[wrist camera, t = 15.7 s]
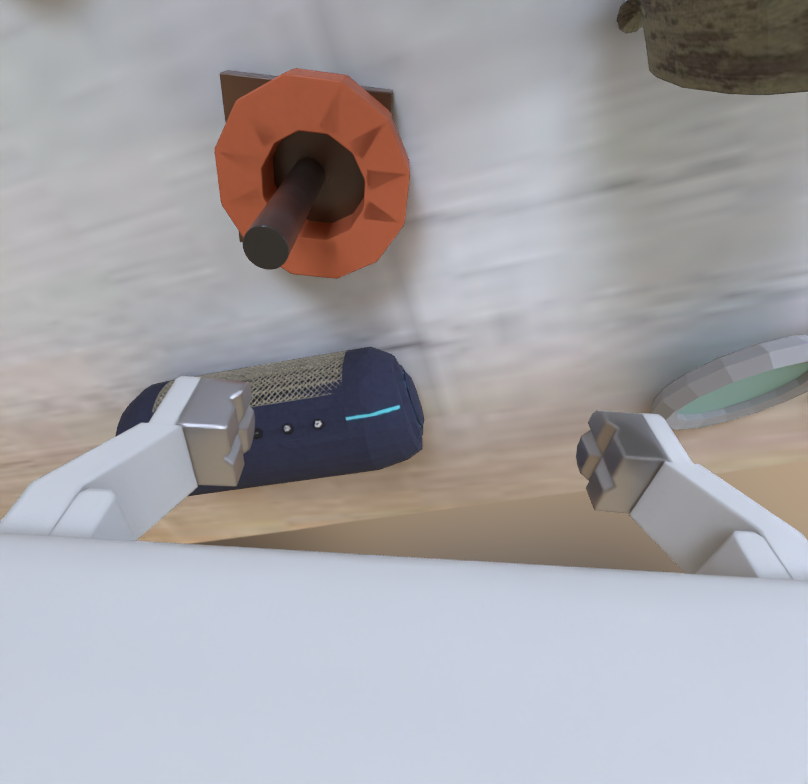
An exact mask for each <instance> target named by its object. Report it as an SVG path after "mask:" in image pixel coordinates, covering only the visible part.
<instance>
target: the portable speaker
mask: <svg viewBox="0 0 808 784" xmlns="http://www.w3.org/2000/svg"><path fill="white" fill-rule="evenodd" d="M323 361H324V362H323ZM298 366H299V367H298ZM310 366H311V367H310ZM304 367H305V368H304ZM291 368H292V369H291ZM277 369H278V370H277ZM285 369H286V370H285ZM297 369H298V370H297ZM271 370H272V371H271ZM269 371H270V372H269ZM271 372H272V373H271ZM256 374H257V375H256ZM237 376H238V377H237ZM194 377H201V378H214V379H224V380H234V381H243V382H248V383H249V384H250V387H251V393H252V397H251V400H250V403H249V406H250V407H251V408H252V409H253V410H254V415H255V430H254V437H253V441H252V444H251V447H250V450H248V451H247V452H246V453H244V454H243V456H244V463H245V464H244V467H243V470H242V473H241V475H240V478H239V481H238V484H237V486H215V485H198V487H197V488H196V489H195V490H194V491H193V492H191V493H190V494H189V495H188V496H192V495H200V494H207V493H214V492H221V491H229V490H236V489H243V488H250V487H258V486H265V485H272V484H279V483H287V482H294V481H301V480H308V479H316V478H323V477H330V476H337V475H345V474H352V473H359V472H366V471H374V470H380V469H383V468H385V467H388V466H391V465H394V464H396V463H399V462H402V461H405V460H407V459H409V458H411V457H412V456H413V455H415V454H416V453H418V452H419V451H420V450H422V435H423V423H424V416H423V411H422V407H421V404H420V400H419V397H418V394H417V391H416V388H415V385H414V383H413V381H412V378H411V377H410V376H409V375H408V374H407V373H406V372H405V370H404V369H403V367H402V366H401V365H399V364H398V362H397V360H396V358H395V356H393V355H392V354H389V353H387V352H384V351H381V350H378V349H375V348H372V347H367V348H360V349H353V350H347V351H341V352H335V353H329V354H323V355H318V356H312V357H306V358H299V359H293V360H288V361H282V362H276V363H270V364H265V365H259V366H253V367H247V368H241V369H235V370H229V371H223V372H218V373H212V374H206V375H200V376H194ZM174 381H175V380H172V381H167V382H162V383H157V384H153V385H151V386H149V387H148V388H146V389H145V390H144V391H143V392H142V393H141V394H140V395H139V396H137V397H136V398H135V399H134V400H133V401H132V402H131V403H130V404H129V406H128V407H127V408H126V410H125V411H124V412H123V414H122V416H121V419H120V421H119V424H118V427H117V431H116V436H118V435H120V434H121V433H123V432H125V431H127V430H129V429H131V428H132V427H134V426H136V425H138V424H140V423H149V421H150V420H151V418H152V416H153V415H154V413H155V412H156V410H157V408H158V407H159V405H160V404H161V402H162V400H163V399H164V397H165V396H166V394H167V393H168V391H169V389H170V388H171V386H172V385H173V383H174ZM116 436H115V437H116Z"/></svg>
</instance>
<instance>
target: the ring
mask: <svg viewBox="0 0 808 784" xmlns="http://www.w3.org/2000/svg"><path fill="white" fill-rule="evenodd" d="M297 131H306V132H314V133H322V134H328V135H330V136H331V137H332V138H333V139H335V140H336V141H337V142H339V143H340V144H341V145H342V146H344V147H345V148H346V149H348V150H349V151H350V152H352V153H353V156H354V158H355V160H356V162H357V164H358V166H359V169H360V171H361V173H362V175H363V177H364V180H365V189H364V198H363V199H362V201H361V202H360V204H359V205H358V207H357V209H356V210H355V212H354V213H353V214H351V215H349V216H347V217H345V218H342V219H340V220H338V221H336V222H334V223H326V222H317V221H309V220H307V219H306V220H305V222H304V224H303V227H302V229H301V231H300V233H299V235H298V237H297V239H296V241H295V244H294V246H293V248H292V250H291V252H290V254H289V256H288V258H287V261H286V262H285V263H284V264H283V265H282V266H281V268H283V269H285V270H286V271H288V272H290V273H292V274H298V275H308V276H317V277H327V278H339V277H342V276H344V275H346V274H349V273H351V272H354V271H356V270H358V269H361V268H363V267H365V266H368V265H370V264H372V263H375V262H377V261H378V260H379V258H380V257H381V255H382V254H383V253H384V251H385V250H386V249H387V247H388V246H389V245H390V243H391V242H392V240H393V239H394V238H395V236H396V235H397V234H398V232H399V231H400V230H401V228H402V227H403V226H404V223H405V214H406V205H407V196H408V188H409V179H410V167H409V159H408V156H407V154H406V151H405V148H404V146H403V143H402V141H401V138H400V136H399V133H398V131H397V128H396V126H395V123H394V120H393V118H392V115H391V113H390V112H389V110H388V109H387V108H386V107H384V106H383V105H382V104H381V103H380V102H379V101H377V100H376V99H375V98H374V97H373V96H371V95H370V94H369V93H368V92H367V91H365V90H364V89H363V88H362V87H361V86H360V85H358V84H357V83H356V82H355V81H354V80H352V79H351V78H350V77H349V76H346V75H342V74H335V73H327V72H320V71H313V70H305V69H298V68H295V69H292V70H290V71H287V72H285V73H283V74H281V75H280V76H278V77H276V78H274V79H273V80H271V81H269V82H267V83H265V84H264V85H262V86H260V87H258V88H257V89H255V90H253V91H251V92H249V93H248V94H246V95H244V96H242V97H241V98H239V99H238V100H236V102H235V104H234V106H233V108H232V111H231V113H230V115H229V117H228V120H227V122H226V124H225V126H224V129H223V131H222V133H221V135H220V138H219V140H218V142H217V145H216V147H215V158H216V166H217V174H218V182H219V190H220V198H221V203H222V206H223V207H224V209H225V210H226V212H227V213H228V215H229V216H230V218H231V220H232V221H233V223H234V224H235V226H236V227H237V229H238V230H239V232H240V233H241V235H242V236H243V238H244V235H245V234H246V232H247V231H248V229H249V228H250V226H251V225H252V224H253V222H254V221H255V219H256V218H257V217H258V215H259V214H260V213H261V211H262V210H263V208H264V207H265V206H266V204H267V203H268V201H269V200H270V199H271V197H272V196H273V194H274V193H275V192H276V190H277V187H276V185H275V183H274V168H273V155H274V153H275V151H276V149H277V147H278V145H279V144H280V142H281V140H282V139H284V138H286V137H288V136H290V135H292V134H294V133H295V132H297Z"/></svg>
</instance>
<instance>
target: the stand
mask: <svg viewBox="0 0 808 784" xmlns="http://www.w3.org/2000/svg"><path fill="white" fill-rule="evenodd" d="M276 77H278V76H272V75H263V74H255V73H246V72H238V71H229V70H227V71H224V72H221V73H220V80H221V89H222V97H223V105H224V114H225V122H227V120H228V117H229V115H230V113H231V111H232V108H233V106H234V104H235V102H236V100H238V99H239V98H241V97H242V96H244V95H246V94H248V93H249V92H251V91H253V90H255V89H257V88H258V87H260V86H262V85H264V84H265V83H267V82H269V81H271V80H273V79H274V78H276ZM361 87H362V88H363V89H364V90H365V91H367V92H368V93H369V94H370V95H371V96H373V97H374V98H375V99H376V100H377V101H379V102H380V103H381V104H382V105H383V106H384V107H386V108H387V109H388V110H389V112H390V113H391V109H392V95H393V90H391V89H382V88H374V87H365V86H361ZM273 168H274V183H275V185H276V187H277V190H276V192H275V193H274V194H273V196H272V197H271V199H270V200H269V201H268V203H267V204H266V206H265V207H264V208H263V210H262V211H261V213H260V214H259V215H258V217H257V218H256V219H255V221H254V222H253V224H252V225H251V226H250V228H249V229H248V231H247V232H246V234H245V235H244V238H243V236H242V235H241V233H240V232H239V238H240V242H243V249H244V252H245V254H246V256H247V258H248V259H249V260H250V261H251V262H252V263H253V264H255V265H256V266H258V267H260V268H263V269H276V268H279V267H281V266H282V265H283V264H284V263H285V262H286V261H287V258H288V256H289V254H290V252H291V250H292V248H293V246H294V244H295V241H296V239H297V237H298V235H299V233H300V231H301V229H302V227H303V224H304V222H305V220H306V219H307V220H309V221H317V222H326V223H334V222H336V221H338V220H340V219H342V218H345V217H347V216H349V215H351V214H353V213H354V212H355V210H356V209H357V207H358V205H359V204H360V202H361V201H362V199H363V198H364V189H365V180H364V177H363V175H362V173H361V171H360V169H359V166H358V164H357V162H356V160H355V158H354V156H353V153H352V152H350V151H349V150H348V149H346V148H345V147H344V146H342V145H341V144H340V143H339V142H337V141H336V140H335V139H333V138H332V137H331V136H330V135H328V134H322V133H314V132H306V131H297V132H295V133H294V134H292V135H290V136H288V137H286V138H284V139H282V140H281V142H280V144H279V145H278V147H277V149H276V151H275V153H274V155H273Z"/></svg>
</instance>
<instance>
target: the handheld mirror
mask: <svg viewBox="0 0 808 784" xmlns="http://www.w3.org/2000/svg"><path fill="white" fill-rule="evenodd" d="M807 391H808V335H793V336H789V337H785V338H781V339H776V340H772V341H768V342H763V343H759V344H756V345H753V346H750V347H747V348H745V349H742V350H739V351H736V352H733V353H731V354H728V355H725V356H722V357H720V358H717V359H715V360H713V361H711V362H709V363H707V364H705V365H703V366H701V367H699V368H696V369H694V370H692V371H690V372H688V373H686V374H685V375H683V376H682V377H680V378H679V379H677V380H675V381H674V382H672V383H671V384H669V385H668V386H666V387H665V388H664V389H663V390H662V391H661V392H660V393H659V395H658V396H657V397H656V398H655V399H654V402H653V406H652V410H651V414H659V415H660V416H662V417H663V418H664V419H665V420H666V422H667V424H668V425H669V427H670V428H671V429H675V430H684V429H693V428H701V427H705V426H710V425H714V424H719V423H723V422H727V421H730V420H734V419H737V418H740V417H744V416H747V415H750V414H753V413H757V412H759V411H762V410H764V409H767V408H770V407H772V406H775V405H778V404H780V403H783V402H785V401H788V400H790V399H792V398H794V397H796V396H798V395H801V394H803V393H805V392H807Z"/></svg>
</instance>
